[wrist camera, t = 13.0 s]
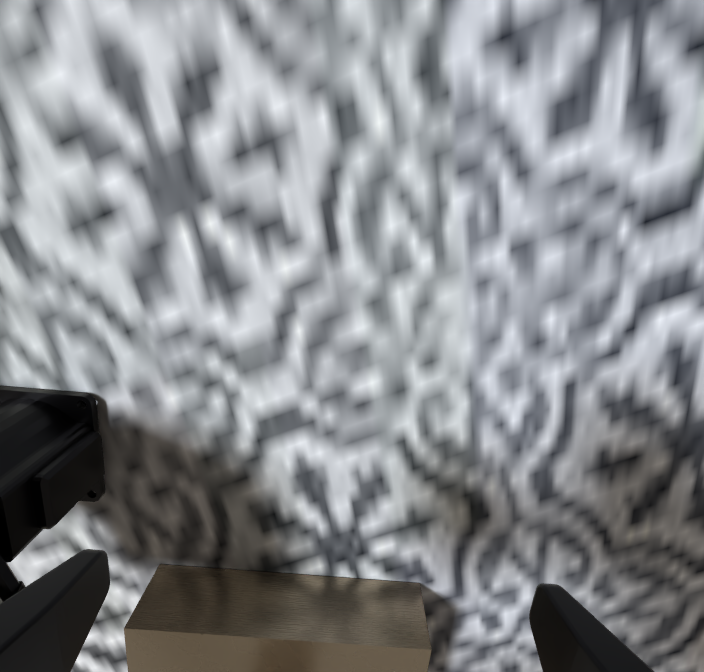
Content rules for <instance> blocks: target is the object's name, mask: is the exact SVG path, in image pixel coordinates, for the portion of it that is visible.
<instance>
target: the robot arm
mask: <svg viewBox="0 0 704 672" xmlns="http://www.w3.org/2000/svg"><path fill="white" fill-rule="evenodd" d="M82 401H84V402H85V403H86V405H87V406H85V405H84V404H83V403H82ZM104 474H105V471H104V461H103V451H102V441H101V435H100V434H99V426H98V417H97V407H96V401H95V398H94V397H93V396H92V395H90V394H88V393H81V392H68V391H56V390H44V389H32V388H19V387H7V386H0V672H70V671H71V669H72V667H73V665H74V663H75V661H76V659H77V657H78V655H79V653H80V650H81V648H82V646H83V644H84V642H85V640H86V638H87V636H88V634H89V631H90V629H91V627H92V625H93V623H94V621H95V619H96V617H97V614H98V612H99V610H100V608H101V606H102V604H103V602H104V600H105V597H106V595H107V593H108V590H109V586H110V575H109V566H108V557H107V553H106V552H105V551H103V550H92V549H86V550H83V551H81V552H79V553H78V554H76V555H75V556H73V557H71V558H70V559H68V560H67V561H65V562H64V563H62V564H61V565H59V566H58V567H56V568H54V569H53V570H51V571H50V572H48V573H47V574H45V575H44V576H42V577H41V578H39V579H38V580H36V581H34V582H33V583H31V584H30V585H28V586H27V587H25V585H24V583H23V582H22V581H18V580H17V578H16V577H15V575H14V573H13V572H12V570H11V569H10V567H9V566H8V564H7V563H6V562H11V561H12V560H13V559H14V558H15V557H16V556H17V555H18V554H19V553H20V552H21V551H22V550H23V549H24V548H25V547H26V546H27V545H28V544H29V543H30V542H31V541H32V540H33V539H34V538H35V537H36V536H37V535H38V534H39V533H40V532H41V531H42V530H43V529H51V528H52V527H54V526H55V525H56V524H57V523H58V522H59V521H60V520H61V519H62V518H63V517H64V516H65V515H66V514H67V513H68V512H69V511H70V509H71V508H72V507H73V506H74V505H75V504H76V503H77V502H78V501H90V502H95V501H98V500H99V499H100V498H101V497H102V496H103V495H104V493H105V485H104ZM93 491H94V492H96V493H94V492H93ZM529 619H530V625H531V629H532V633H533V637H534V640H535V644H536V648H537V651H538V655H539V658H540V662H541V666H542V669H543V672H654V671H653V670H652V669H651V668H650V667H648V666H647V665H646V664H645V663H644V662H643V661H642V660H641V659H640V658H639V657H638V656H636V655H635V654H634V653H633V652H632V651H631V650H630V649H629V648H628V647H627V646H626V645H624V644H623V643H622V642H621V641H620V640H619V639H618V638H617V637H616V636H615V635H614V634H612V633H611V632H610V631H609V630H608V629H607V628H606V627H605V626H604V625H603V624H602V623H600V622H599V621H598V620H597V619H596V618H595V617H594V616H593V615H592V614H591V613H590V612H588V611H587V610H586V609H585V608H584V607H583V606H582V605H581V604H580V603H579V602H578V601H576V600H575V599H574V598H573V597H572V596H571V595H570V594H569V593H568V592H567V591H566V590H564V589H563V588H562V587H561V586H559V585H556V584H544V583H541V584H539V585H538V586H537V588H536V591H535V595H534V598H533V602H532V605H531V609H530V614H529Z"/></svg>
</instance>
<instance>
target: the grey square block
mask: <svg viewBox="0 0 704 672" xmlns="http://www.w3.org/2000/svg"><path fill="white" fill-rule="evenodd" d="M124 634H125V644H126V654H127V664H128V672H427V670H428V665H429V660H430V655H431V644H430V638H429V633H428V627H427V622H426V616H425V611H424V605H423V599H422V594H421V588H420V583H410V582H396V581H382V580H369V579H355V578H341V577H328V576H314V575H300V574H287V573H273V572H259V571H246V570H232V569H218V568H205V567H191V566H177V565H164V564H160V565H159V567H158V568H157V570H156V572H155V574H154V575H153V577H152V579H151V581H150V583H149V584H148V586H147V588H146V590H145V592H144V593H143V595H142V597H141V599H140V601H139V602H138V604H137V606H136V608H135V610H134V611H133V613H132V615H131V617H130V619H129V620H128V622H127V624H126V626H125V628H124Z"/></svg>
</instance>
